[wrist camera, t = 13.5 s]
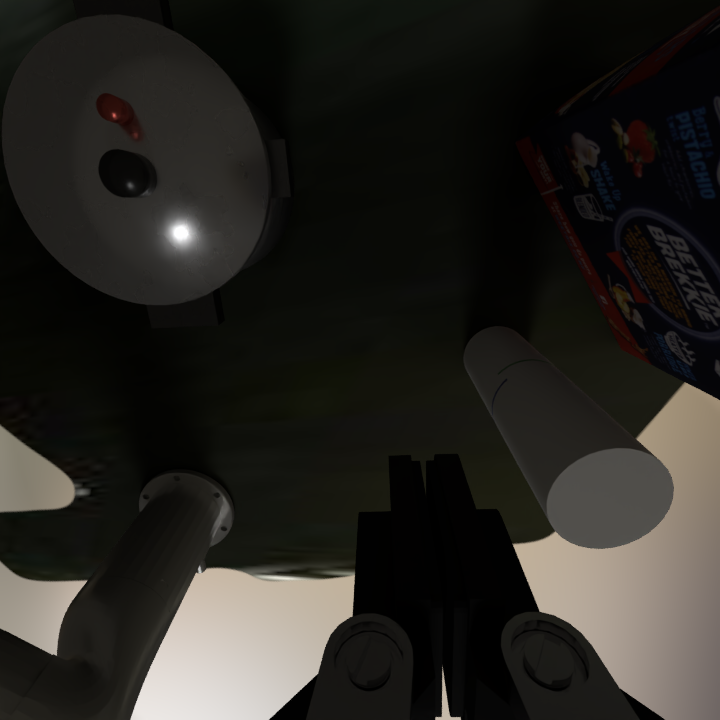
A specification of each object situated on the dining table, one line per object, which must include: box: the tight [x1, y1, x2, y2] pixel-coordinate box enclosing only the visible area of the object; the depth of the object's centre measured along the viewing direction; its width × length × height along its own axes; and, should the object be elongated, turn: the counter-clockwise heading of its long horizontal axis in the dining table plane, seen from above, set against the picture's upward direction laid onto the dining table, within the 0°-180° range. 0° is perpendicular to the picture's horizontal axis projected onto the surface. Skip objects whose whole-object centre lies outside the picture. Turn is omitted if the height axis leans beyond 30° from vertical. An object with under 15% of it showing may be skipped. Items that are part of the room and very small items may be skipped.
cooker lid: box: [2, 15, 272, 305], centre depth 30 cm, size 19×19×3 cm
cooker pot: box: [73, 0, 294, 328], centre depth 37 cm, size 24×20×12 cm
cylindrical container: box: [464, 326, 674, 549], centre depth 36 cm, size 7×7×25 cm
